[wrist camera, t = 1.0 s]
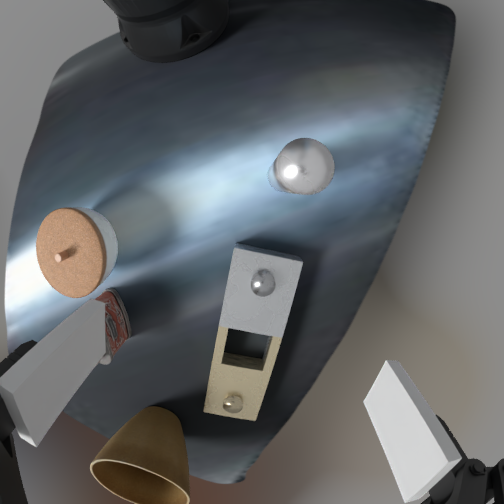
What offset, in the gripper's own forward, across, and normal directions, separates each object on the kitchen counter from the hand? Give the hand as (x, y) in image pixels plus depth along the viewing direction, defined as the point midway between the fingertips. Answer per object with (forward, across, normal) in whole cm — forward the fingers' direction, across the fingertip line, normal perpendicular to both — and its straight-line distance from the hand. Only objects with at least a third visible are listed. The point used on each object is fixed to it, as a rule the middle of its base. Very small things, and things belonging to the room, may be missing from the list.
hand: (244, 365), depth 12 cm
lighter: (+24, -17, -14) cm, 33 cm away
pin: (+25, +2, +9) cm, 26 cm away
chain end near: (+24, +2, -8) cm, 26 cm away
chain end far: (+24, +2, -18) cm, 30 cm away
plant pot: (+24, -8, -34) cm, 42 cm away
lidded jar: (+24, -21, -4) cm, 32 cm away
